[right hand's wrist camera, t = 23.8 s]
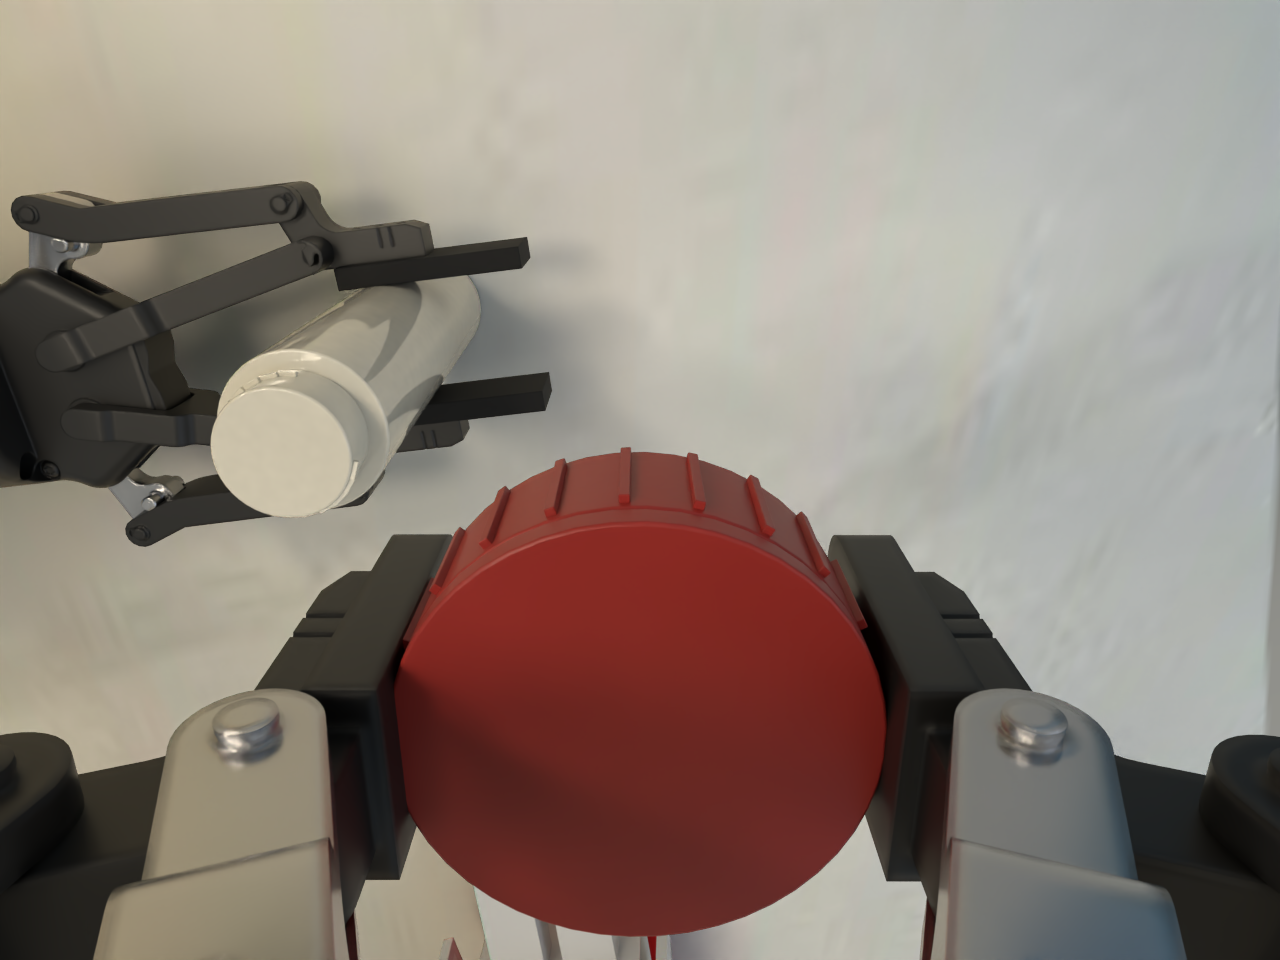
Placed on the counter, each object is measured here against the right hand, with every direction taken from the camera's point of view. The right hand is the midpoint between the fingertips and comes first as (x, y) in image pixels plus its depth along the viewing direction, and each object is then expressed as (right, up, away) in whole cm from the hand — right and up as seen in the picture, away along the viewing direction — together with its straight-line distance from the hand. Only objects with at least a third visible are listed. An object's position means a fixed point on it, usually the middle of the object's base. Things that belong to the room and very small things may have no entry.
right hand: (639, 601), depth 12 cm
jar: (-9, +9, +28) cm, 31 cm away
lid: (0, -1, -3) cm, 3 cm away
